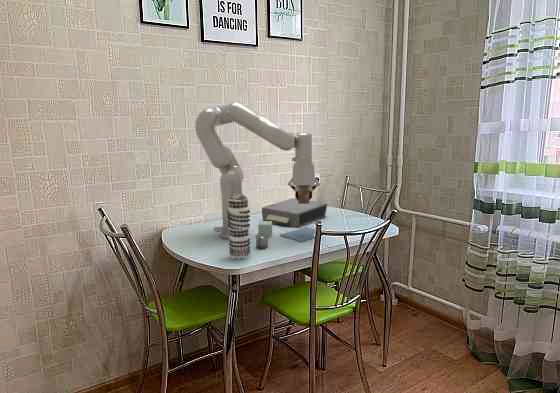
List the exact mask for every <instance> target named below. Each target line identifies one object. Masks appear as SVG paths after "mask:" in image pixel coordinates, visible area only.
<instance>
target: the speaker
mask: <svg viewBox="0 0 560 393" xmlns="http://www.w3.org/2000/svg"><path fill="white" fill-rule="evenodd" d="M327 208H328V203H327V202H321V201H314V200H309V204H298V200H297V198H288V199H285V200H282V201H279V202H276V203H272V204H269V205H265V206H262V207H261V215H262V221H272V224H276V225H277V224H278V225H283V226H288V227H293V228H296V229H297V228H298V229H300V228H301V226H302V227H305V226H307V225H310V224H312V223H314V222H317V221H319V220H322V219H325V217H326V212H327ZM309 223H310V224H309Z"/></svg>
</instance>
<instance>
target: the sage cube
mask: <svg viewBox="0 0 560 393" xmlns="http://www.w3.org/2000/svg"><path fill="white" fill-rule="evenodd" d="M257 226H258V228H257V229H258V234H257V235H267V236H268V238H272V236H273V223H272V221H263V220H260V221H259V222H258V224H257Z"/></svg>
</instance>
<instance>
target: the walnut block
mask: <svg viewBox="0 0 560 393" xmlns="http://www.w3.org/2000/svg"><path fill="white" fill-rule="evenodd" d="M309 190H310V188H309V186H298V204H309V201H310V200H309Z"/></svg>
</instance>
